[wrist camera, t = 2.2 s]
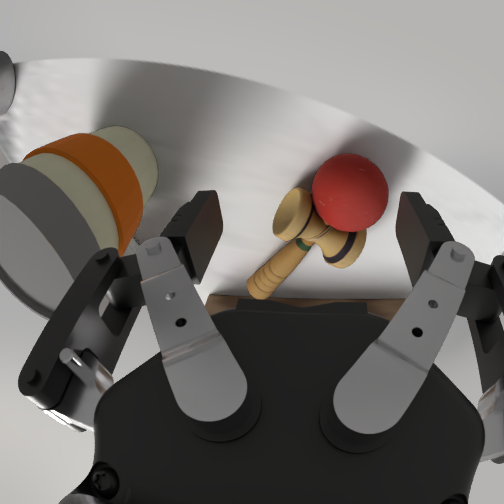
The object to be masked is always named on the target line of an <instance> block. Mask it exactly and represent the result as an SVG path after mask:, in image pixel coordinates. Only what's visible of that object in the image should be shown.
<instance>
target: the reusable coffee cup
mask: <svg viewBox="0 0 504 504" xmlns="http://www.w3.org/2000/svg"><path fill="white" fill-rule="evenodd" d="M157 180H158V167H157V162H156V159H155V156H154V154H153V151H152V150H151V148H150V146H149V145H148V143H147V142H146V141H145V140H144V139H143V138H142V137H141V136H140V135H138V134H137V133H136V132H134V131H132V130H130V129H128V128H125V127H121V126H111V127H106V128H103V129H100V130H97V131H94V132H91V133H89V134H88V133H78V134H74V135H70V136H67V137H65V138H62V139H59V140H57V141H54V142H52V143H49V144H47V145H45V146H42V147H40V148H37V149H35V150H33V151H32V152H30V153H29V154H28V155H26V157H25V158H24V159H23V161H22V162H20V163H11V164H8V165H5V166H3V167H2V168H1V169H0V281H1V282H2V284H3V285H4V286H5V287H6V288H7V289H8V290H9V291H10V292H11V294H12V295H14V296H15V297H16V298H17V299H18V300H19V301H20V302H21V303H23V304H24V305H25V306H26V307H27V308H29V309H30V310H32V311H33V312H34V313H36V314H38V315H39V316H41V317H43V318H45V319H47V320H49V319H50V318H51V316H52V315H53V313H54V311H55V310H56V308H57V307H58V305H59V303H60V302H61V300H62V299H63V297H64V296H65V294H66V293H67V291H68V290H69V288H70V287H71V285H72V284H73V282H74V281H75V279H76V278H77V276H78V275H79V273H80V272H81V271H82V269H83V268H84V266H85V265H86V264H87V262H88V261H89V259H90V258H91V257H92V256H93V255H94V254H95V253H96V252H98V251H100V250H102V249H104V248H108V247H113V248H116V249H117V250H118V252H119V254H120V256H121V257H123V255H124V253H125V251H126V249H127V247H128V245H129V243H130V241H131V239H132V237H133V235H134V234H135V232H136V230H137V228H138V226H139V224H140V221H141V218H142V213H143V208H144V207H145V205H146V203H147V202H148V200H149V198H150V197H151V195H152V193H153V192H154V190H155V187H156V185H157Z"/></svg>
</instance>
